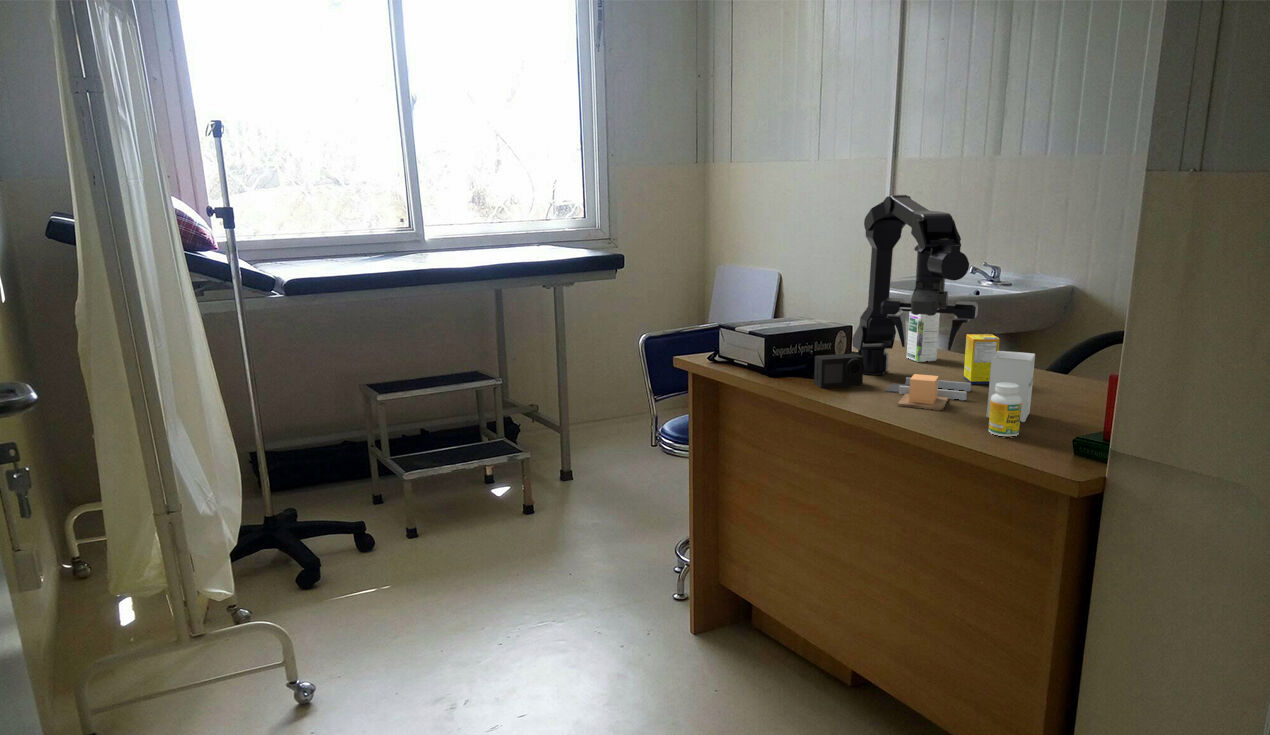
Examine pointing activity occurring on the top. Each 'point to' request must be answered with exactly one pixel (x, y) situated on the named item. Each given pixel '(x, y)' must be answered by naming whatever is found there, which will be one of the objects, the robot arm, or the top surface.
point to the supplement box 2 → (1013, 376)
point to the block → (923, 389)
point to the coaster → (937, 405)
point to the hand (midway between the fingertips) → (926, 348)
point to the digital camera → (839, 370)
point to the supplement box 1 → (979, 357)
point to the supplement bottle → (1005, 410)
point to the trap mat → (895, 387)
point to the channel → (944, 385)
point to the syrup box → (923, 337)
